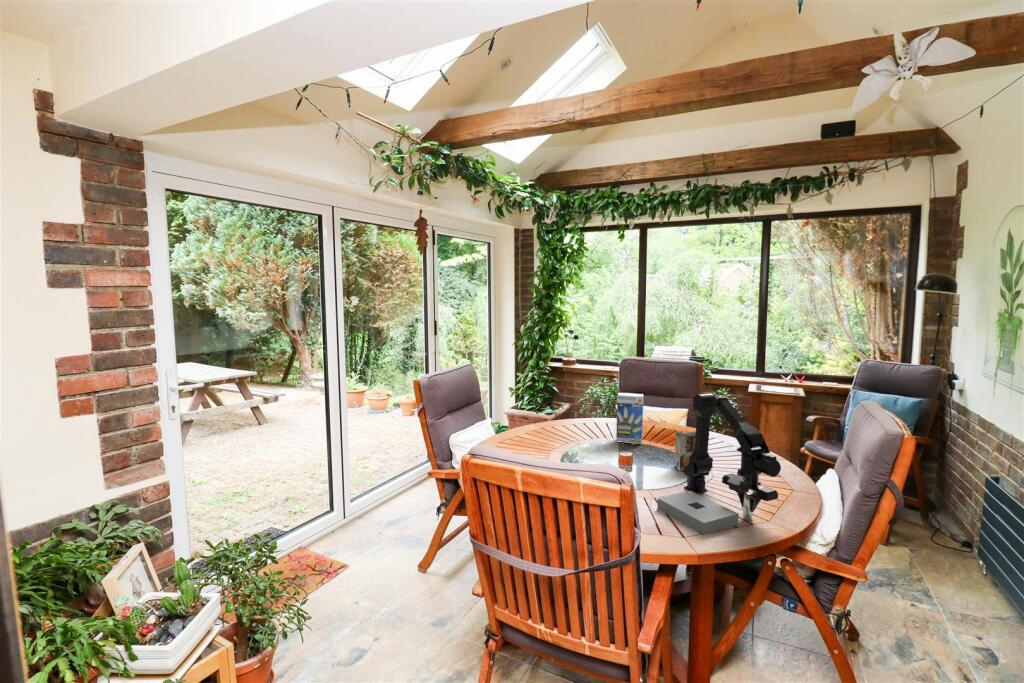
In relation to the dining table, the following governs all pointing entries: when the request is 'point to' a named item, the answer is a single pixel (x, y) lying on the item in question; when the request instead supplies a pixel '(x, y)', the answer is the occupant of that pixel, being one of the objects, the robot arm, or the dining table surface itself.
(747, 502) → the steel peg
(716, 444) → the dining table surface
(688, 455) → the coffee box
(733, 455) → the dining table surface
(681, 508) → the hole block
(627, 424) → the string lights box
